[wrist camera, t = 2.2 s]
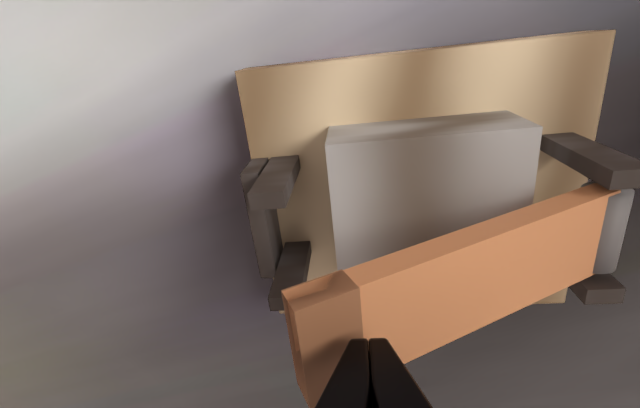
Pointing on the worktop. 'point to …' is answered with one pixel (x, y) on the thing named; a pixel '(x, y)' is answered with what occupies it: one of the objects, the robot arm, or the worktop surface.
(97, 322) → the worktop surface
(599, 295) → the clamp base
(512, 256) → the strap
